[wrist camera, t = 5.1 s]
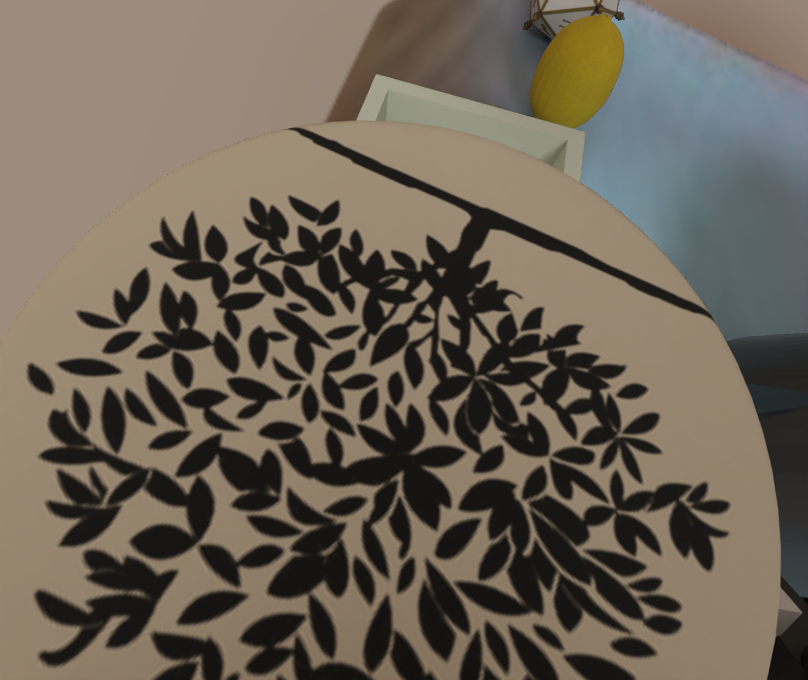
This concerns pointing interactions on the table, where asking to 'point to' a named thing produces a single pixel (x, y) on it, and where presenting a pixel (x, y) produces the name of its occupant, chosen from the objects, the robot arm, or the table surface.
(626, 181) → the table surface
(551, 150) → the holder
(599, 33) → the lemon
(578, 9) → the game die
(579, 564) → the travel mug
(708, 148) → the table surface
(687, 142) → the table surface
